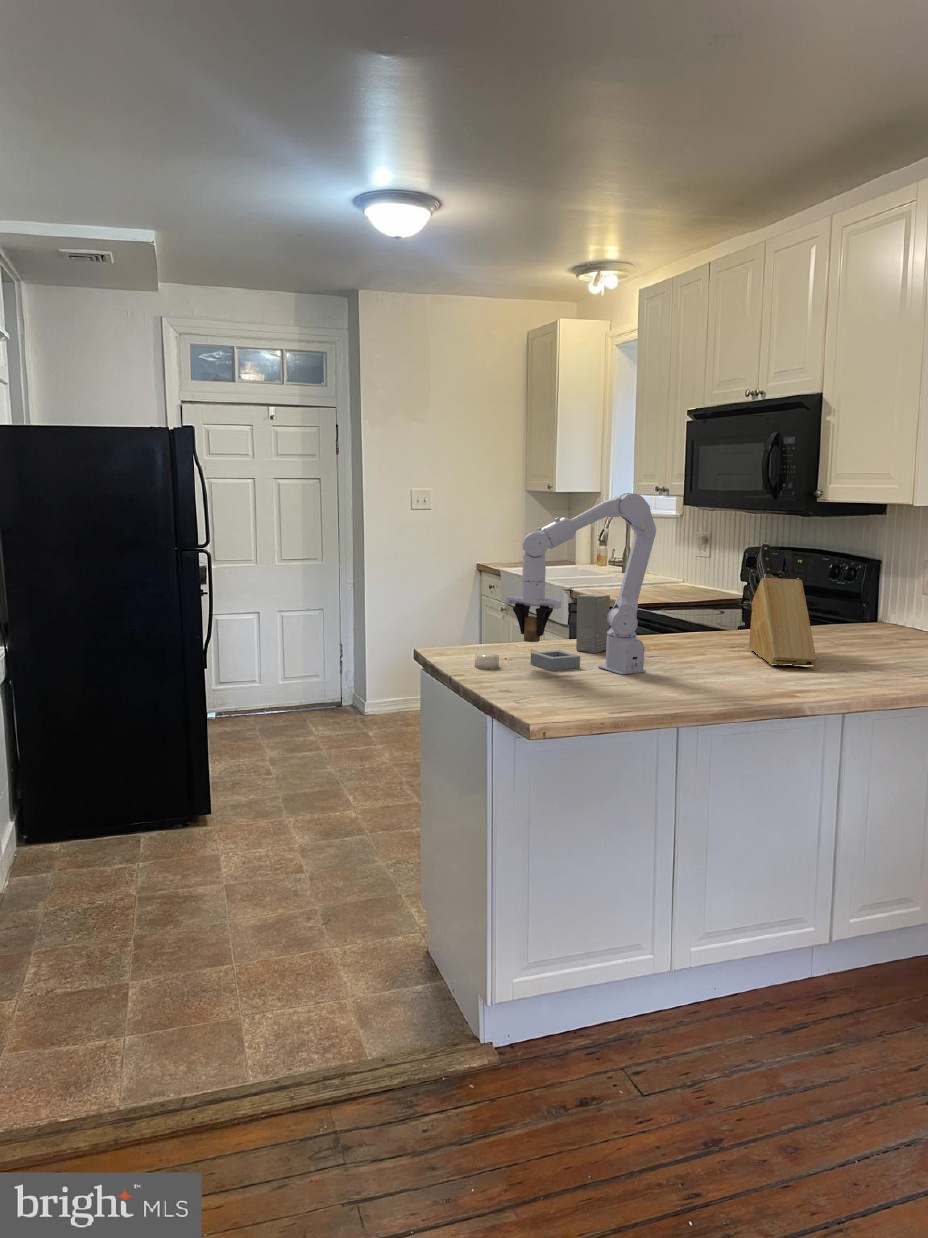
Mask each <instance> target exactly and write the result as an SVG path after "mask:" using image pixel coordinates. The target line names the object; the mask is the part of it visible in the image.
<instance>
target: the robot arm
mask: <svg viewBox="0 0 928 1238" xmlns="http://www.w3.org/2000/svg"><path fill="white" fill-rule="evenodd" d="M619 517H621V518H622V519H623V520H624V521H625V522H627V523H628V525H629V526H630V529H631V530H632V531H633V533H634V537H633V541H632V544H631V546H630V547H631V548H630V552H629V555H628V559H627V562H626V566H625V570H624V573H623V578H622V582H621V586H620V588H619V589H620V590H619V593H618V595H617V597H616V599H615V602H614V605H613V607H612V608H611V609H610V612H609V613H608V616H607V620H608V623H609V631H608V632H607V646H606V650H605V664H600V665H598V666H597V668H599V669H601V670H602V669H603V670H606V671H609V672H613V673H616V674H619V675H628V674H638V673H646V672H647V670H646V669H644V665H645V664H644V663H645V645H644V642H643V641H642V640H641V639H639V638H638V637H637V632H635V631H636V630H637V628H638V622H639V621H638V617H637V613H638V611H639V610H638V609H639V602H638V601H639V598H640V594H641V589H642V586H643V583H644V578H645V575H646V571H647V568H648V564H649V559H650V557H651V552H652V549H653V546H654V542H655V537H656V534H657V528H656V527H657V526H656V525H655V520H654V517H653V514H652V509H651V506H650V504H649V503H648V502H647V501H646V499H645V498H644V497H643V496H642V495H641V494H638V493H634V492H633V493H630V492H626V493H622V494H620V496H616V497H615V496H614V497H612V498H608V499H606V500H604V501H602V502H600V503H598V504H596V505H595V506H593V507H591V508H589V509H587V510H585V511H583V512H582V513H580V514H578V515H577V516H574V517H573V518H568V517H566V516H564V517H561V518H560V517H558V516H557V517H556V518H553V520H554V521H553V522H551V523H549V524H547V525H545V526H543V527H541V526H539V527H537V528H536V530H537V531H536V532H535V531H534V532H530V533H528V534H526V536H525V537H524V539H523V541H522V543H521V545H522V549H523V551H524V552H523V555H522V556H523V557H522V559H523V562H522V577H521V579H522V580H521V581H522V584H521V596H518V595H506V596H505V604H506V605H514V606H512V611H513V613H514V614H515V617H516V620H517V622H518V625H519V629H520V634H521V635H524V617H525V616H530V614H529V613H530V608H531V607H537V608H535V613H536V616H537V636H540V637H542V636H544V633H545V629H546V626H547V623H548V620H549V619H550V616H551V615H552V613H553V612H554V610H555V609H556V610H559V609H561V608H562V600H559V599H552V598H546V596H545V595H546V573H547V571H546V569H547V568H546V567H547V564H546V552H547V551H548V549H550V550H553V549H555V548H556V547H558V546H561V545H562V544H564V543H566V542H568V541H570V540H572V539H574V538H575V536H576V532H577V531H578V530H580V529H583V528H585V527H587V526H589V525H592V524H594V523H595V522H598V521H600V520H602V519H604V518H619Z"/></svg>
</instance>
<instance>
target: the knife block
mask: <svg viewBox="0 0 928 1238" xmlns="http://www.w3.org/2000/svg"><path fill="white" fill-rule="evenodd" d="M770 547H771V545H770V543H768V542H763V543H762V545H761V547H760V551H759V553H758V556H757V559H756V568H757V570H755V569H754V570H753V569H752V570H750V571H749V586H750V588H751V589H748V597H749V598H748V599H749V604H750V610H751V616H750V629H749V641H748V650H750V649H752V650H753V651H754V652H755V653H757V654H759V655H758V657H759V658H761V657H762V658H764V659H765V660H766V661H768V662H769V663H770V664H792V665H814V666H815V665H816V662H817V655H816V651H815V645H814V639H813V634H812V628H811V622H810V615H809V611H808V605H807V601H806V595H805V590H804V584H803V580H802V579H800V578H797V564H796V563H797V562H796V559H795V555H794V552H793V551H792V550H790V549H787V550H785V551H784V559H785V562H786V564H785V565H786V570H787V572H788V577H789V578H784V572H782V571H780V570H779V571H777V572H775V571H773V568H774V566H773V558H772V553H771V549H770ZM758 578H759V579H758ZM754 652H753V653H754ZM755 653H754V654H755ZM757 654H756V655H757ZM762 658H761V659H762ZM765 660H764V661H765ZM766 661H765V662H766ZM769 663H768V664H769ZM770 664H769V665H770Z"/></svg>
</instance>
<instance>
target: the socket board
mask: <svg viewBox="0 0 928 1238" xmlns="http://www.w3.org/2000/svg"><path fill="white" fill-rule="evenodd" d="M529 665H532V666H535V665H536V667H538V668H541V669H544V670H548V671H561V670H572V669H579V668H580V669H581V655H577V654H575V653H571V652H567V651H563V650H561V649H556V650H544V651H534V652H533V651H532V652H530V664H529Z"/></svg>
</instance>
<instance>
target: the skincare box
mask: <svg viewBox="0 0 928 1238" xmlns="http://www.w3.org/2000/svg"><path fill="white" fill-rule="evenodd" d="M610 601H611V595H610V594H598V593H597V594H595V593H590V594H589V593H588V594H587V593H585V594H579V595H577V596H576V645H575V646H576V647H575V648H576V649H575V650H576V651H578V652H587V653H593V654H598V653H602V652H606V646H607V632H608V631H609V630H610V625H609V623H608V620H607V616H608V613H609V612H610V610H611V609H610V604H611V603H610Z"/></svg>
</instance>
